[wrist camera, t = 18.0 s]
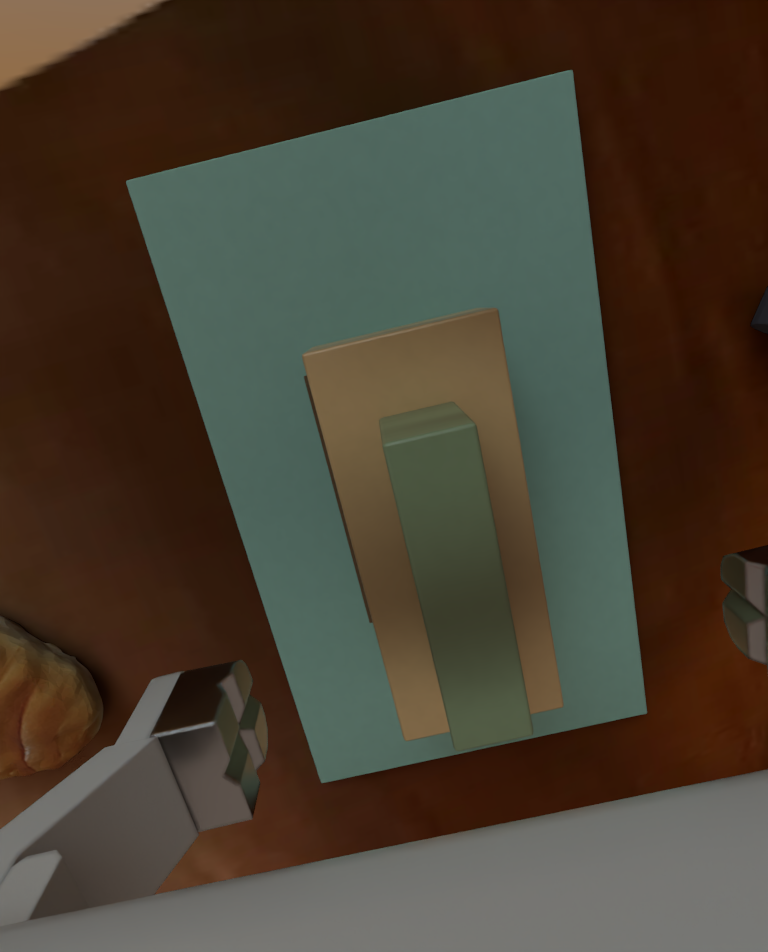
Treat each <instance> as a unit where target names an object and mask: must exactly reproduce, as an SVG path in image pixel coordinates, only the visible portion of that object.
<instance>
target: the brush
mask: <svg viewBox="0 0 768 952" xmlns="http://www.w3.org/2000/svg"><path fill="white" fill-rule="evenodd" d="M302 359H303V363H304V367H305V371H306V374H307V378H308V382H309V385H310V389H311V393H312V397H313V400H314V404H315V408H316V412H317V415H318V419H319V423H320V427H321V430H322V434H323V438H324V442H325V445H326V449H327V453H328V457H329V460H330V464H331V468H332V472H333V475H334V479H335V483H336V487H337V490H338V494H339V498H340V502H341V505H342V509H343V513H344V517H345V520H346V524H347V528H348V532H349V535H350V539H351V543H352V547H353V550H354V554H355V558H356V562H357V565H358V569H359V573H360V577H361V580H362V584H363V588H364V592H365V595H366V599H367V603H368V607H369V610H370V614H371V618H372V622H373V625H374V629H375V633H376V637H377V640H378V644H379V648H380V652H381V655H382V659H383V663H384V667H385V670H386V674H387V678H388V682H389V685H390V689H391V693H392V697H393V700H394V704H395V708H396V712H397V715H398V719H399V723H400V727H401V730H402V734H403V738H404V740H405V741H410V740H415V739H420V738H424V737H429V736H433V735H438V734H443V733H447V732H450V733H451V738H452V742H453V746H454V749H455V750H456V751H463V750H467V749H472V748H477V747H481V746H486V745H490V744H495V743H500V742H504V741H509V740H514V739H518V738H523V737H528V736H531V735H533V731H534V730H533V725H532V719H531V714H535V713H539V712H544V711H549V710H553V709H558V708H562V707H563V705H564V703H563V697H562V691H561V685H560V679H559V673H558V667H557V661H556V655H555V649H554V643H553V637H552V631H551V625H550V619H549V613H548V607H547V601H546V595H545V589H544V583H543V576H542V570H541V564H540V558H539V552H538V546H537V540H536V534H535V528H534V522H533V516H532V510H531V504H530V498H529V492H528V486H527V480H526V474H525V468H524V462H523V456H522V450H521V444H520V438H519V432H518V426H517V420H516V414H515V408H514V402H513V396H512V390H511V384H510V377H509V371H508V365H507V359H506V353H505V347H504V341H503V335H502V329H501V323H500V317H499V311H498V309H497V308H474V309H470V310H465V311H461V312H457V313H453V314H449V315H444V316H440V317H436V318H432V319H428V320H424V321H419V322H415V323H411V324H407V325H403V326H398V327H394V328H390V329H386V330H382V331H378V332H373V333H369V334H365V335H361V336H357V337H352V338H348V339H344V340H340V341H336V342H332V343H327V344H323V345H319V346H315V347H312V348H311V349H309V350H308V351H306V352H305V353H304V354H302Z"/></svg>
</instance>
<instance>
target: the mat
mask: <svg viewBox="0 0 768 952" xmlns="http://www.w3.org/2000/svg"><path fill="white" fill-rule="evenodd" d="M126 184H127V187H128V190H129V193H130V196H131V199H132V202H133V205H134V208H135V211H136V214H137V218H138V221H139V224H140V227H141V230H142V233H143V236H144V239H145V242H146V245H147V248H148V251H149V254H150V258H151V261H152V264H153V267H154V270H155V273H156V276H157V279H158V282H159V285H160V288H161V291H162V294H163V298H164V301H165V304H166V307H167V310H168V313H169V316H170V319H171V322H172V325H173V328H174V331H175V334H176V338H177V341H178V344H179V347H180V350H181V353H182V356H183V359H184V362H185V365H186V368H187V371H188V375H189V378H190V381H191V384H192V387H193V390H194V393H195V396H196V399H197V402H198V405H199V408H200V411H201V415H202V418H203V421H204V424H205V427H206V430H207V433H208V436H209V439H210V442H211V445H212V448H213V451H214V455H215V458H216V461H217V464H218V467H219V470H220V473H221V476H222V479H223V482H224V485H225V488H226V491H227V495H228V498H229V501H230V504H231V507H232V510H233V513H234V516H235V519H236V522H237V525H238V528H239V531H240V535H241V538H242V541H243V544H244V547H245V550H246V553H247V556H248V559H249V562H250V565H251V568H252V571H253V575H254V578H255V581H256V584H257V587H258V590H259V593H260V596H261V599H262V602H263V605H264V608H265V611H266V615H267V618H268V621H269V624H270V627H271V630H272V633H273V636H274V639H275V642H276V645H277V648H278V651H279V655H280V658H281V661H282V664H283V667H284V670H285V673H286V676H287V679H288V682H289V685H290V688H291V691H292V695H293V698H294V701H295V704H296V707H297V710H298V713H299V716H300V719H301V722H302V725H303V728H304V731H305V735H306V738H307V741H308V744H309V747H310V750H311V753H312V756H313V759H314V762H315V765H316V768H317V772H318V775H319V778H320V781H321V783H326V782H330V781H335V780H340V779H344V778H349V777H354V776H358V775H363V774H368V773H372V772H377V771H382V770H386V769H391V768H395V767H400V766H405V765H409V764H414V763H419V762H423V761H428V760H433V759H437V758H442V757H447V756H451V755H456V754H461V753H465V752H470V751H475V750H479V749H484V748H488V747H493V746H498V745H502V744H507V743H512V742H516V741H521V740H526V739H530V738H535V737H540V736H544V735H549V734H554V733H558V732H563V731H568V730H572V729H577V728H581V727H586V726H591V725H595V724H600V723H605V722H609V721H614V720H619V719H623V718H628V717H633V716H637V715H642V714H646V713H647V708H646V699H645V690H644V682H643V673H642V665H641V656H640V647H639V639H638V630H637V621H636V613H635V604H634V595H633V587H632V578H631V570H630V561H629V552H628V544H627V535H626V526H625V518H624V509H623V500H622V492H621V483H620V475H619V466H618V457H617V449H616V440H615V431H614V423H613V414H612V405H611V397H610V388H609V380H608V371H607V362H606V354H605V345H604V336H603V328H602V319H601V310H600V302H599V293H598V285H597V276H596V267H595V259H594V250H593V241H592V233H591V224H590V215H589V207H588V198H587V190H586V181H585V172H584V164H583V155H582V146H581V138H580V129H579V120H578V112H577V103H576V95H575V86H574V77H573V71H572V70H568V71H564V72H560V73H556V74H552V75H548V76H544V77H540V78H536V79H532V80H528V81H524V82H520V83H516V84H512V85H508V86H504V87H500V88H496V89H492V90H488V91H484V92H480V93H476V94H472V95H468V96H464V97H460V98H456V99H452V100H448V101H444V102H440V103H436V104H432V105H428V106H424V107H420V108H416V109H412V110H408V111H404V112H400V113H396V114H392V115H388V116H384V117H380V118H376V119H372V120H368V121H364V122H360V123H356V124H352V125H348V126H344V127H340V128H336V129H332V130H328V131H324V132H320V133H316V134H312V135H308V136H303V137H299V138H295V139H291V140H287V141H283V142H279V143H275V144H271V145H267V146H263V147H259V148H255V149H251V150H247V151H243V152H239V153H235V154H231V155H227V156H223V157H219V158H215V159H211V160H207V161H203V162H199V163H195V164H191V165H187V166H183V167H179V168H175V169H171V170H167V171H163V172H159V173H155V174H151V175H147V176H143V177H139V178H135V179H131V180H127V181H126ZM474 308H497V309H498V311H499V317H500V323H501V329H502V335H503V341H504V347H505V353H506V359H507V365H508V371H509V377H510V384H511V390H512V396H513V402H514V408H515V414H516V420H517V426H518V432H519V438H520V444H521V450H522V456H523V462H524V468H525V474H526V480H527V486H528V492H529V498H530V504H531V510H532V516H533V522H534V528H535V534H536V540H537V546H538V552H539V558H540V564H541V570H542V576H543V583H544V589H545V595H546V601H547V607H548V613H549V619H550V625H551V631H552V637H553V643H554V649H555V655H556V661H557V667H558V673H559V679H560V685H561V691H562V697H563V703H564V705H563V707H562V708H558V709H553V710H549V711H544V712H539V713H535V714H531V719H532V725H533V730H534V731H533V735H531V736H528V737H523V738H518V739H514V740H509V741H504V742H500V743H495V744H490V745H486V746H481V747H477V748H472V749H467V750H463V751H456V750H455V749H454V746H453V742H452V738H451V733H450V732H447V733H443V734H438V735H433V736H429V737H424V738H420V739H415V740H410V741H405V740H404V738H403V734H402V730H401V727H400V723H399V719H398V715H397V712H396V708H395V704H394V700H393V697H392V693H391V689H390V685H389V682H388V678H387V674H386V670H385V667H384V663H383V659H382V655H381V652H380V648H379V644H378V640H377V637H376V633H375V629H374V625H373V622H372V618H371V614H370V610H369V607H368V603H367V599H366V595H365V592H364V588H363V584H362V580H361V577H360V573H359V569H358V565H357V562H356V558H355V554H354V550H353V547H352V543H351V539H350V535H349V532H348V528H347V524H346V520H345V517H344V513H343V509H342V505H341V502H340V498H339V494H338V490H337V487H336V483H335V479H334V475H333V472H332V468H331V464H330V460H329V457H328V453H327V449H326V445H325V442H324V438H323V434H322V430H321V427H320V423H319V419H318V415H317V412H316V408H315V404H314V400H313V397H312V393H311V389H310V385H309V382H308V378H307V374H306V371H305V367H304V363H303V359H302V354H304V353H305V352H306V351H308V350H309V349H311V348H312V347H315V346H319V345H323V344H327V343H332V342H336V341H340V340H344V339H348V338H352V337H357V336H361V335H365V334H369V333H373V332H378V331H382V330H386V329H390V328H394V327H398V326H403V325H407V324H411V323H415V322H419V321H424V320H428V319H432V318H436V317H440V316H444V315H449V314H453V313H457V312H461V311H465V310H470V309H474Z"/></svg>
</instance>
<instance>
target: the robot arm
mask: <svg viewBox="0 0 768 952" xmlns="http://www.w3.org/2000/svg"><path fill="white" fill-rule="evenodd" d="M721 580H722V581H723V582H724V583H725V584H726V585H727V586H728V587H729V588H730V589H731V590H730V592H729V593H728V595H727V597H726V598H725V600H724V601H723V603H722V604H723V614H724V622H725V624H726V627H727V630H728V632H729V635H730V637H731V639H732V640H733V642H734V643H735V645H736V646H737V648H738V649H739V650H740V651H741V652H742V653H743V654H744V655H745V656H746V657H747V658H748V659H751V660H754V661H757V662H759V663H762V664H765V665H767V667H768V545H766V546H762V547H758V548H754V549H749V550H745V551H741V552H737V553H733V554H729V555H725V556H723V559H722V563H721ZM252 683H253V679H252V677H251V674H250V672H249V669H248V667H247V664H245V663H244V662H243V661H242V660H238V661H233V662H228V663H223V664H218V665H213V666H208V667H203V668H198V669H192V670H187V671H185V672H183V671H181V672H176V673H172V674H168V675H164V676H160V677H157V678H155V679H153V680H151V682H150V683H149V685H148V687H147V689H146V690H145V692H144V694H143V696H142V698H141V699H140V701H139V703H138V705H137V706H136V708H135V710H134V712H133V713H132V715H131V717H130V719H129V720H128V722H127V724H126V726H125V727H124V729H123V731H122V733H121V735H120V736H119V738H118V740H117V742H116V743H115V745H114V746H109V747H105V748H104V749H102V750H101V751H100V752H98V753H97V754H96V755H95V756H93V757H92V758H91V759H90V760H88V761H87V762H86V763H84V764H83V765H82V766H81V767H79V768H78V769H77V770H75V771H74V772H73V773H72V774H70V775H69V776H68V777H67V778H65V779H64V780H63V781H61V782H60V783H59V784H58V785H56V786H55V787H54V788H53V789H51V790H50V791H49V792H47V793H46V794H45V795H44V796H42V797H41V798H40V799H39V800H37V801H36V802H35V803H33V804H32V805H31V806H30V807H28V808H27V809H26V810H24V811H23V812H22V813H21V814H19V815H18V816H17V817H16V818H14V819H13V820H12V821H10V822H9V823H8V824H7V825H5V826H4V827H3V828H2V829H0V952H768V769H767V770H762V771H757V772H752V773H748V774H743V775H738V776H733V777H728V778H723V779H718V780H713V781H708V782H704V783H699V784H694V785H689V786H684V787H679V788H674V789H669V790H664V791H660V792H655V793H650V794H645V795H640V796H635V797H631V798H626V799H621V800H616V801H611V802H606V803H601V804H596V805H591V806H586V807H582V808H577V809H572V810H567V811H562V812H557V813H552V814H547V815H542V816H538V817H533V818H528V819H523V820H518V821H513V822H508V823H503V824H498V825H493V826H489V827H484V828H479V829H474V830H469V831H464V832H459V833H454V834H449V835H444V836H440V837H435V838H430V839H425V840H420V841H415V842H410V843H405V844H400V845H396V846H391V847H386V848H381V849H376V850H371V851H366V852H361V853H356V854H351V855H347V856H342V857H337V858H332V859H327V860H322V861H317V862H312V863H307V864H302V865H298V866H293V867H288V868H283V869H278V870H273V871H268V872H263V873H258V874H254V875H249V876H244V877H239V878H234V879H229V880H224V881H219V882H214V883H209V884H205V885H200V886H195V887H190V888H185V889H180V890H175V891H170V892H165V893H160V894H156V895H154V894H155V892H156V891H157V890H158V888H159V887H160V886H161V884H162V883H163V882H164V881H165V879H166V878H167V877H168V875H169V874H170V873H171V871H172V870H173V869H174V867H175V866H176V865H177V863H178V862H179V861H180V859H181V858H182V857H183V855H184V854H185V853H186V851H187V850H188V849H189V847H190V846H191V845H192V843H193V842H194V841H195V839H196V838H197V837H198V836H199V834H198V832H201V831H205V830H209V829H213V828H217V827H221V826H226V825H230V824H234V823H238V822H242V821H246V820H251V819H252V818H253V814H254V809H255V805H256V800H257V796H258V791H259V787H260V781H259V778H258V776H257V773H256V770H257V769H258V768H259V767H260V766H261V765H262V764H263V763H264V762H265V758H266V753H267V748H268V731H267V724H266V719H265V714H264V711H263V708H262V705H261V702H259V701H258V700H256V699H255V698H254V697H252V696H251V695H249V693H250V690H251V686H252Z"/></svg>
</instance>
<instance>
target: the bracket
mask: <svg viewBox="0 0 768 952" xmlns="http://www.w3.org/2000/svg"><path fill="white" fill-rule="evenodd" d="M751 327H752V328H754V329H756V330H758V331H761V332H764V333H767V334H768V286H767V288H766V290H765V293H764V295H763V297H762V299H761V302H760V304H759V306H758V309H757V311H756V313H755V315H754V318H753V320H752V322H751Z"/></svg>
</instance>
